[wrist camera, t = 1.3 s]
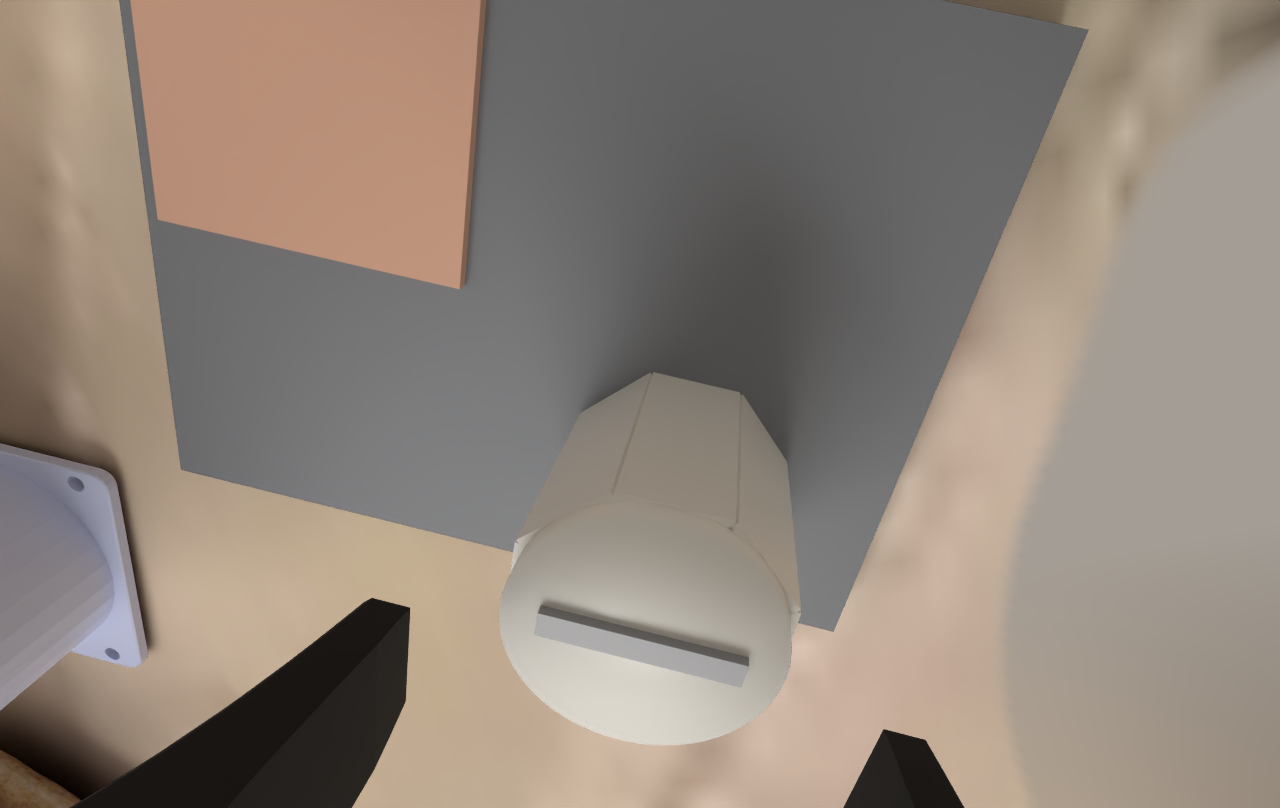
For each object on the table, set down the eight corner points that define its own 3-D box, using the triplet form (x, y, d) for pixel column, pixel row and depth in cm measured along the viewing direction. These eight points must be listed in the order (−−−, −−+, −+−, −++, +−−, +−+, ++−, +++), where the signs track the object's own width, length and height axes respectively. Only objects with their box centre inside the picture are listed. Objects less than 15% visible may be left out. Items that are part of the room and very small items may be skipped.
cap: (559, 532, 18) (483, 714, 13) (588, 357, 16) (510, 492, 11) (749, 578, 18) (748, 783, 13) (806, 407, 15) (833, 571, 10)
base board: (211, 448, 20) (180, 469, 19) (147, -153, 14) (96, -173, 13) (828, 600, 19) (833, 631, 18) (1060, 33, 13) (1088, 29, 12)
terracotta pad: (168, 216, 16) (157, 219, 15) (122, -167, 13) (108, -173, 12) (464, 285, 15) (459, 289, 15) (493, -92, 12) (487, -96, 12)
